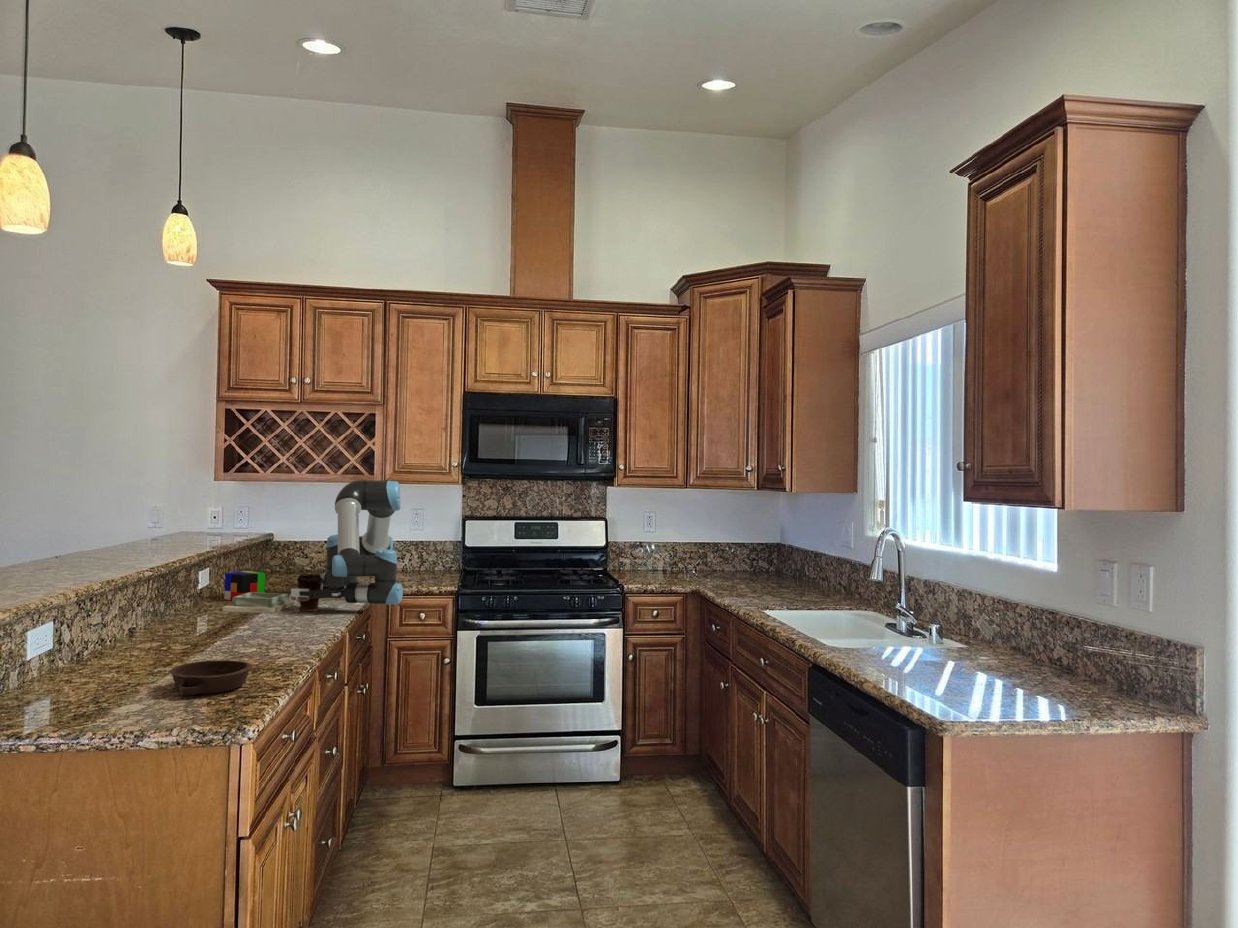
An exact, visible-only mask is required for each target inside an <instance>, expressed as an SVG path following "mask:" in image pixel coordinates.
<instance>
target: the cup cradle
mask: <svg viewBox="0 0 1238 928" xmlns="http://www.w3.org/2000/svg"><path fill="white" fill-rule="evenodd" d="M231 601H232V603H231V604H228V605H225V606H222V612H227V613H228V612H230V613H254V614H255V613H257V614H275V613H278V612H280V610H281V611H283V610H286V609H288V607H289V608H291V607H294V606H296V605H297V600H289V593H282V592H281V593H279V592H278V593H277V592H264V593H257V592H249V593H246V594H242V595H239V596H236V597H233V600H231ZM285 608H286V609H285Z"/></svg>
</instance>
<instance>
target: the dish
mask: <svg viewBox="0 0 1238 928" xmlns="http://www.w3.org/2000/svg"><path fill="white" fill-rule="evenodd" d="M252 668H253V665H252V663H250V662H246V661H242V660H202V661H201V660H200V661H192V662H187V663H184V664H179V665H176V666H174V667H173V668H171V669H170V670H169V673H170V675H172V680H173V682H174V686H175V687H176V689H177V690H178V693H179V695H181V696H193V695H194V694H206V695H211V694H210V693H217V694H219V693H218V692H223V691H228V692H230V691H229V690H231V691H233V690H232V689H234V690H236V689H235V688H237V689H239V688H241V687H242V686H243V685H244V684H245V682H246V680H247V678H248V675H249V672H250V671H251V669H252ZM240 686H241V687H240ZM238 687H239V688H238ZM223 693H224V692H223Z"/></svg>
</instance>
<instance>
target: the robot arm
mask: <svg viewBox="0 0 1238 928" xmlns="http://www.w3.org/2000/svg"><path fill="white" fill-rule="evenodd" d="M400 488H401V487H400V483H399V482H398V481H397V480H396V481H395V480H373V479H372V480H370V479H369V480H368V479H365V480H364V479H358V480H354V481H351V482H349V483H347V484H346V485H345V486H344V487H342V489H341V490H340V491H339V492H338V493H337V496H336V498H335V500H334V512H335V513H336V514H337V533H336V534H332V535H329V536H328V537H327V540H326V547H325V548H326V560H325V561H326V563H325V573H324V575H323V577H322V579H323V581H322V583H321V587H320V590H311V588H309V589H298V588H291V589H290V597H291V598H299V597H308V598H310V599H311V598H319V599H342V598H344V601H345V602H346V603H347V604H357V603H358V604H364V605H365V606H367V605H368V604H371V605H373V604H374V605H386V606H387V605H398V604H400V603H401V602H402V600H403V594H404V590H403V585H402V583H398V582H397V568H398V567H397V565H398V562H397V560H398V559H397V558H398V557H397V553H398V552H397V551H396V550H394V540H393V537H391V536H389V534H388V533H389V528H390V523H391V518H392V517H391V516H392V515H394V513H395V512H397V511H400V510H401V491H400V490H401V489H400ZM361 511H367V512H368V519H367V526H366V527H367V528H366V532H365V533H364V534H363V535H360V521H359V520H360V519H359V517H360V516H359V514H360V512H361ZM358 577H359V578H360V577H374V582H371V581H369V582H366V581H361V582H359V580H358ZM312 593H313V596H312Z"/></svg>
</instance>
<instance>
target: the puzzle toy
mask: <svg viewBox="0 0 1238 928" xmlns="http://www.w3.org/2000/svg"><path fill="white" fill-rule="evenodd" d="M265 576H266V573H265V572H260V571H259V572H258V571H251V570H243V571H235V572H225V574H224V600H228V601H232V600H233V597H236V596H239V595H242V594H246V593H249V592H257V593H265V585H266V583H265V582H266V577H265Z"/></svg>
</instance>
